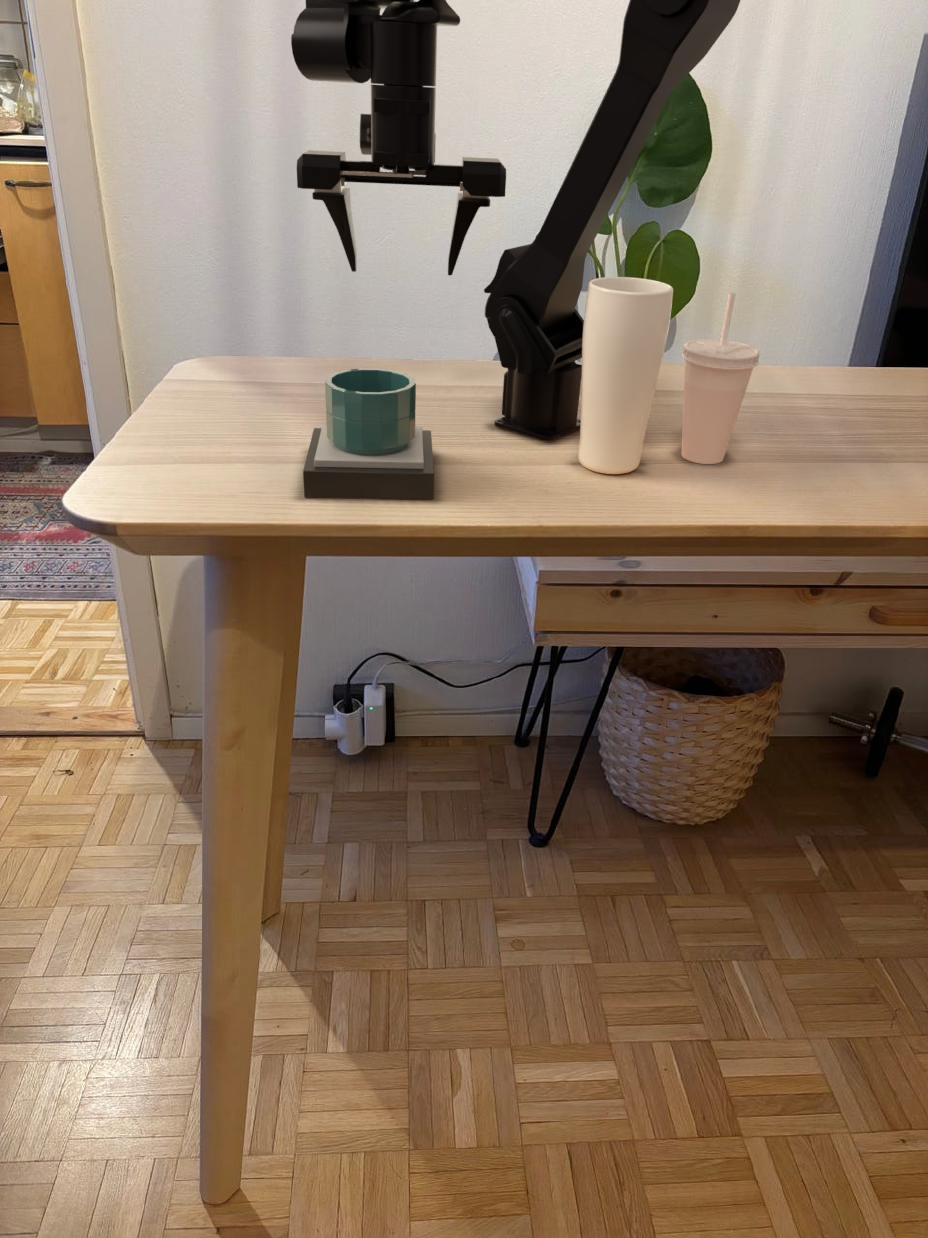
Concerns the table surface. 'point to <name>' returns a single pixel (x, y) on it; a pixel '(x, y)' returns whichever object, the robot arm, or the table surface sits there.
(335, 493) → the scale
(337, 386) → the bowl
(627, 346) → the white tumbler
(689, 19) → the robot arm
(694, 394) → the smoothie
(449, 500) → the table surface
